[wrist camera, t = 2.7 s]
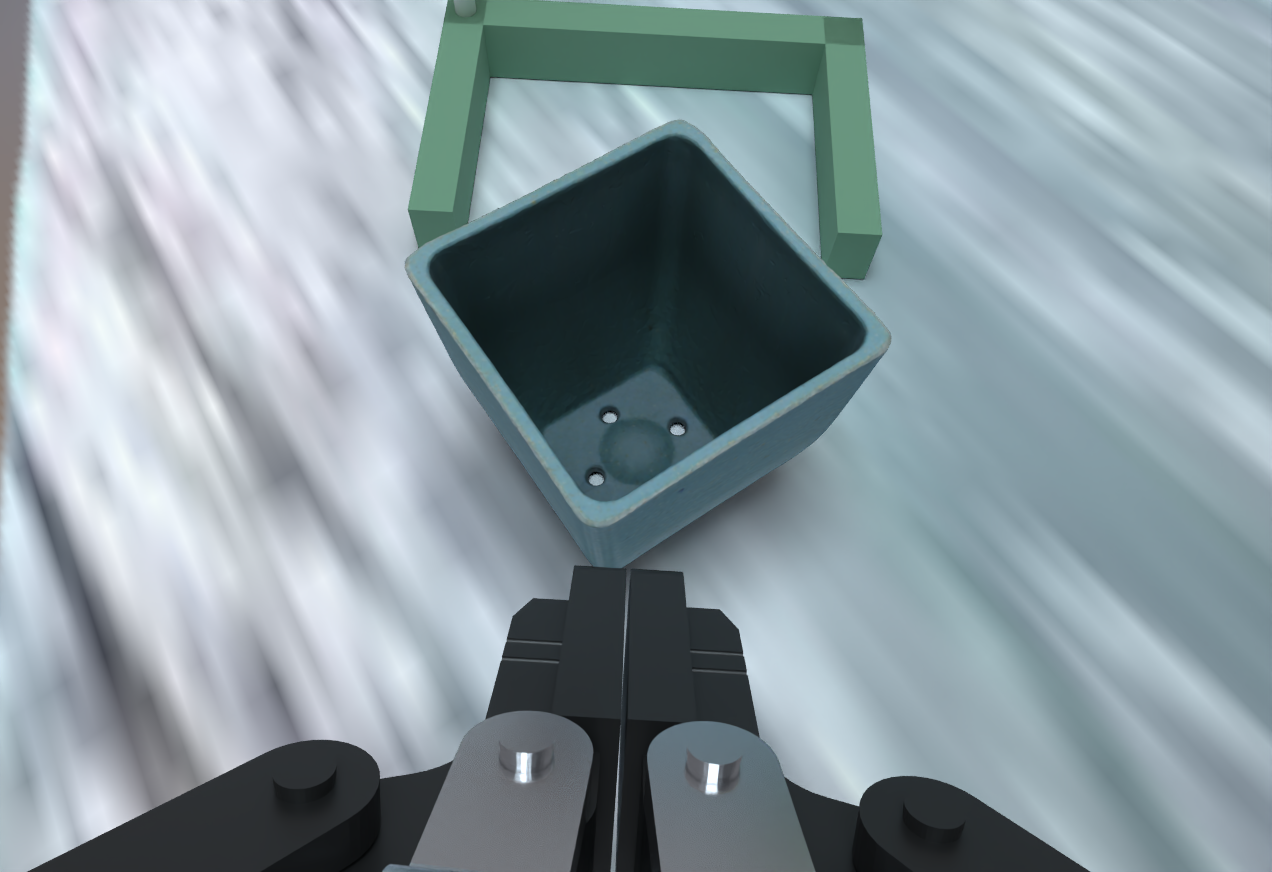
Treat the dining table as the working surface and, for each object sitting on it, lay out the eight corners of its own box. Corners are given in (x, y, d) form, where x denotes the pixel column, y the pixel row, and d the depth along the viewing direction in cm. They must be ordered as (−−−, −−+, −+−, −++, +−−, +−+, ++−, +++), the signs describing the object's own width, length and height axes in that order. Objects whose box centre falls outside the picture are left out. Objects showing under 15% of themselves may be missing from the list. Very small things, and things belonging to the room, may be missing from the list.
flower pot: (447, 422, 31) (393, 253, 23) (666, 300, 34) (685, 108, 25) (595, 641, 28) (591, 535, 20) (823, 489, 30) (902, 340, 22)
